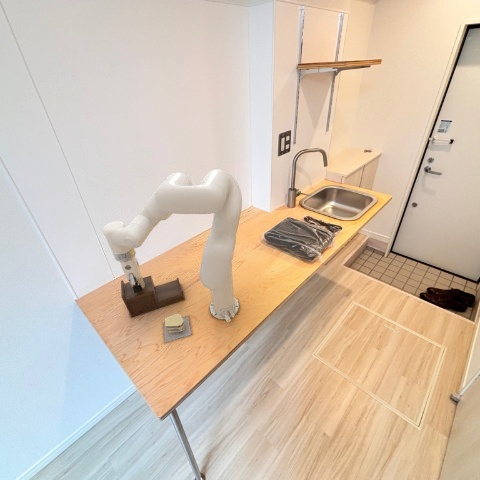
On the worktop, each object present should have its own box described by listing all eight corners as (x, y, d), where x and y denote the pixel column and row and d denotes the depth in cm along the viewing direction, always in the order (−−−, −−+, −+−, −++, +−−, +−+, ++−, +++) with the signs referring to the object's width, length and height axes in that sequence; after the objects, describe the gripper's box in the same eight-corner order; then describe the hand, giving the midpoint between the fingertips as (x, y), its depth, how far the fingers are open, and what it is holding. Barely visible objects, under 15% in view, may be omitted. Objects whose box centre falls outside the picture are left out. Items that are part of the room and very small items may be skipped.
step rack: (184, 299, 111) (178, 278, 103) (131, 317, 105) (121, 296, 97) (180, 284, 119) (174, 264, 111) (130, 300, 112) (120, 280, 105)
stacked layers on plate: (165, 342, 94) (161, 333, 91) (164, 323, 101) (160, 314, 98) (191, 334, 96) (188, 326, 93) (188, 316, 103) (185, 308, 100)
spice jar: (146, 289, 102) (140, 276, 98) (132, 293, 101) (126, 280, 97) (144, 280, 107) (139, 267, 102) (131, 284, 105) (125, 271, 101)
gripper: (136, 263, 87) (149, 296, 98) (133, 238, 101) (145, 270, 111) (113, 269, 85) (129, 303, 96) (114, 242, 98) (128, 275, 109)
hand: (138, 285), depth 103 cm, fingers open, 6 cm apart
